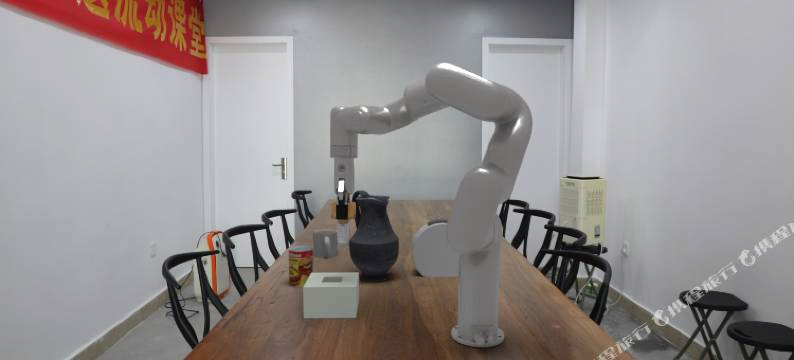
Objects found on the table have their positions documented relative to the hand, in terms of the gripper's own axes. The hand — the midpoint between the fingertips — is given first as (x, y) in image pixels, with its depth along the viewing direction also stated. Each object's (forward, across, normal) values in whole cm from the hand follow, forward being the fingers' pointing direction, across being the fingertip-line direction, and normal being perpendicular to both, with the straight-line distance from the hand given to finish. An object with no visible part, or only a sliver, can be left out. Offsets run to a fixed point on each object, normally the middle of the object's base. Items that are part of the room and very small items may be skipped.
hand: (343, 216), depth 129 cm
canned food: (+27, +24, +16) cm, 40 cm away
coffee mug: (+27, +63, +13) cm, 70 cm away
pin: (+8, 0, 0) cm, 8 cm away
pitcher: (+27, +32, -7) cm, 42 cm away
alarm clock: (+26, +36, -32) cm, 55 cm away
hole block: (+26, 0, +3) cm, 27 cm away
